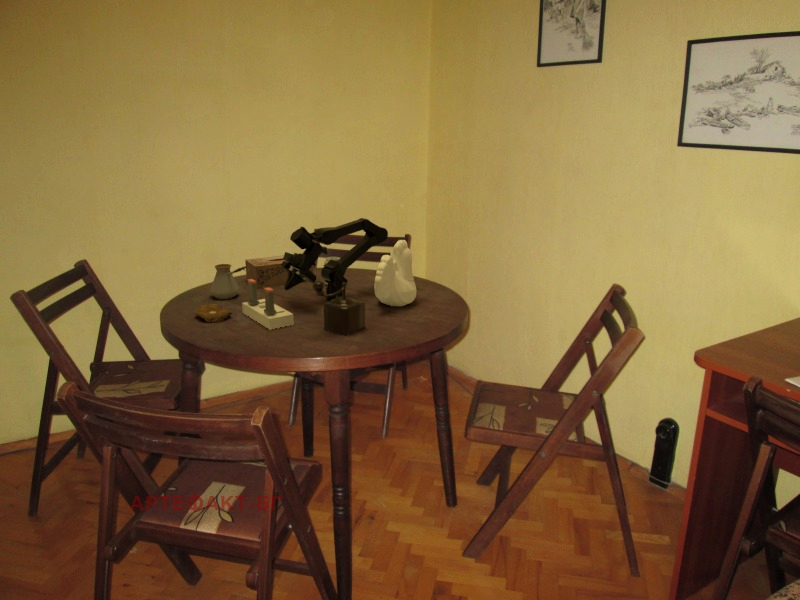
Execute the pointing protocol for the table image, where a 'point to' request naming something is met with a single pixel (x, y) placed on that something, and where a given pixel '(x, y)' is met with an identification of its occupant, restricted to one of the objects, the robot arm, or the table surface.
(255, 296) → the switch
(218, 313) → the decorative rock
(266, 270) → the tissue box cover
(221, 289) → the coffee pot
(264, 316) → the cream lever base
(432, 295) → the table surface
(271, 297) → the switch
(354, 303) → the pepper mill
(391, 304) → the cream foot sculpture
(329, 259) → the can
